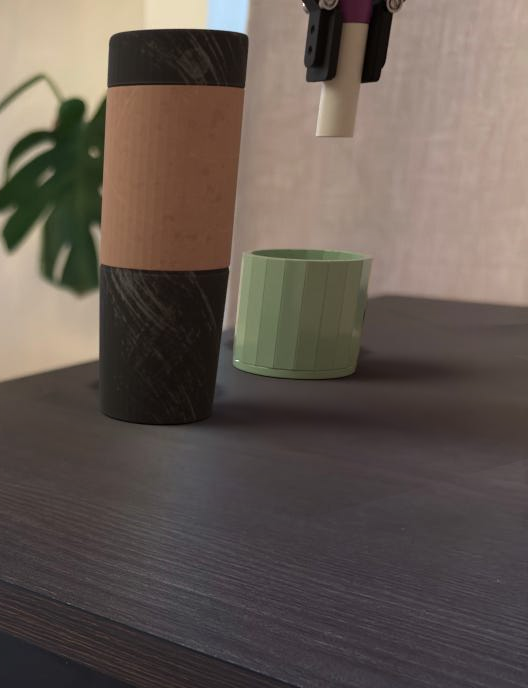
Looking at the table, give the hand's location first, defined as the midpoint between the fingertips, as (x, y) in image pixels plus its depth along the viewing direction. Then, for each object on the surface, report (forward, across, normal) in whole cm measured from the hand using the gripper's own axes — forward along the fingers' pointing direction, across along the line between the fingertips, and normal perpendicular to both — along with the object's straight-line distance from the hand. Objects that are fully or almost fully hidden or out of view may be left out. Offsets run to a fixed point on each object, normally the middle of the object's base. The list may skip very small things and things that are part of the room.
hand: (342, 79), depth 66 cm
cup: (+19, +2, +2) cm, 19 cm away
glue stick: (+4, 0, 0) cm, 4 cm away
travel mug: (+19, +17, +14) cm, 29 cm away
